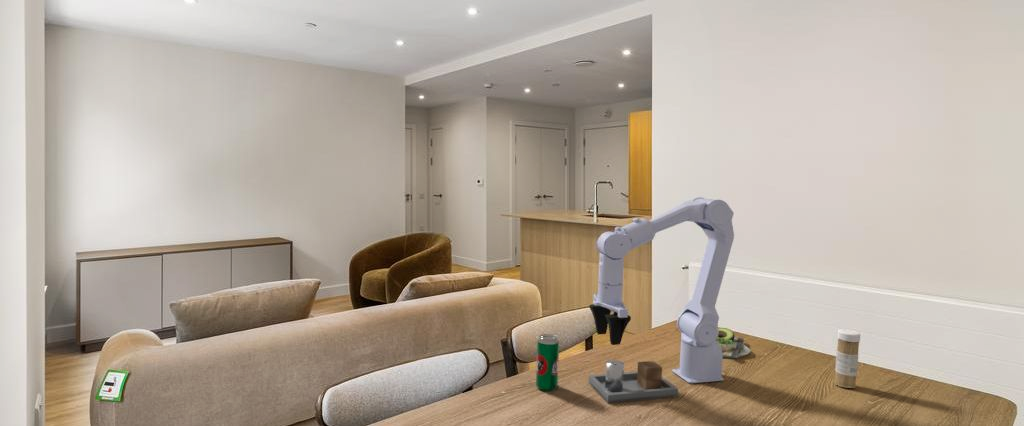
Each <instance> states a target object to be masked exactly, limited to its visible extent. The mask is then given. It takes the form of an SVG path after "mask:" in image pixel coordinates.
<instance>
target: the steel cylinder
mask: <svg viewBox="0 0 1024 426" xmlns="http://www.w3.org/2000/svg"><path fill="white" fill-rule="evenodd" d="M624 370H625V363H624V362H623V361H620V360H617V359H608V360H607V361H605V373H604V374H605V388H606V389H607V390H608V391H610V392H621V391H622V390H623V373H625V372H624Z"/></svg>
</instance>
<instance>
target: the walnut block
mask: <svg viewBox="0 0 1024 426" xmlns="http://www.w3.org/2000/svg"><path fill="white" fill-rule="evenodd" d="M637 372H638V373H637V383H638V384H639V385H640V386H641V387H643V388H644V389H645V390H649V389H660V388H661V381H662V377H663V366H661V365H659V364H658V363H657V362H656V361H654V360H650V361H649V360H647V361H638V362H637Z"/></svg>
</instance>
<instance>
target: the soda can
mask: <svg viewBox="0 0 1024 426" xmlns="http://www.w3.org/2000/svg"><path fill="white" fill-rule="evenodd" d="M559 355H560V341H559V338H558V336H557V335H556V334H552V333H542V334H539V336H538V339H537V341H536V366H535V368H536V373H535V386H536V387H537V389H538V390H540V391H543V392H544V391H545V392H551V391H555V390H556V389H557V388H558V386H559V385H558V384H559V364H560V363H559V360H560V358H559V357H560V356H559Z"/></svg>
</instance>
